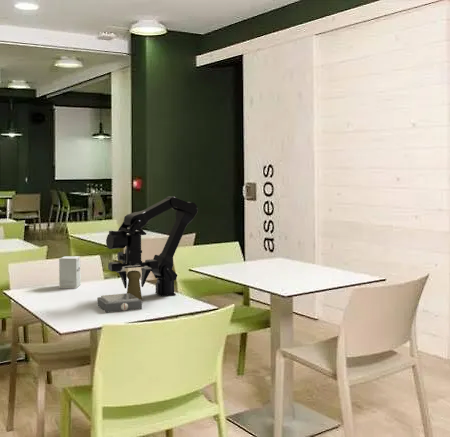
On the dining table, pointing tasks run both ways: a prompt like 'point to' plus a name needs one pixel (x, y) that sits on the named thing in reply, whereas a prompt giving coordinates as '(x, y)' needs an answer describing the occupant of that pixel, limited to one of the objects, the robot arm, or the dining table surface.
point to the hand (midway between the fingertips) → (133, 287)
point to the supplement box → (69, 272)
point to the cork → (134, 284)
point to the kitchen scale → (119, 302)
